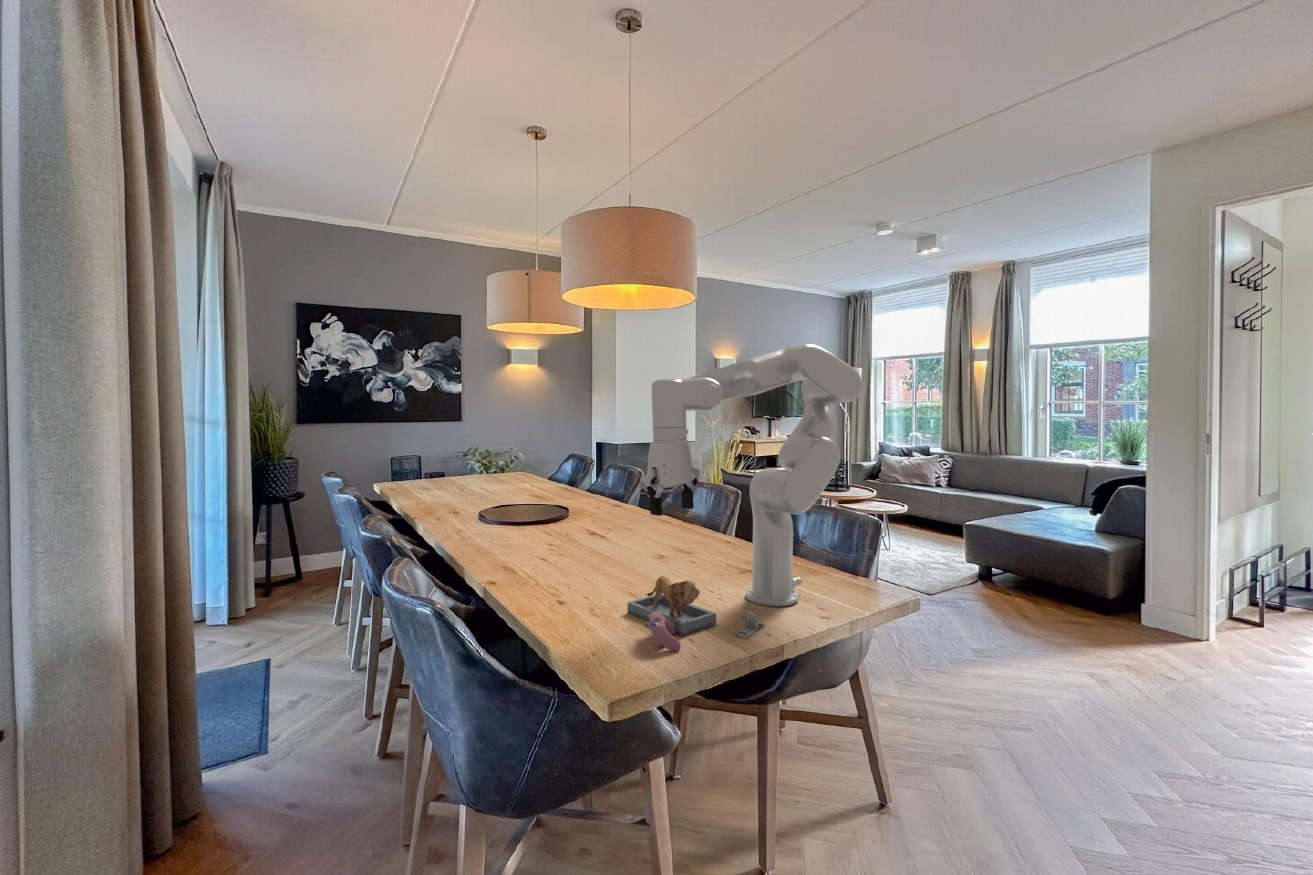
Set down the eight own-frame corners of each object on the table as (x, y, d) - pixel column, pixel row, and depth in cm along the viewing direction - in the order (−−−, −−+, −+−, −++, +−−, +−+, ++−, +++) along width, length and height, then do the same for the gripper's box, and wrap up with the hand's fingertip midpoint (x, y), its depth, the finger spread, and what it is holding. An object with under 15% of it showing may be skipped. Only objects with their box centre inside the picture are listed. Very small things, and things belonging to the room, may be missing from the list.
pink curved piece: (657, 640, 121) (642, 611, 121) (677, 630, 122) (662, 600, 121) (661, 661, 112) (645, 629, 111) (683, 649, 112) (666, 617, 111)
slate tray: (660, 603, 140) (660, 593, 139) (716, 624, 126) (716, 613, 126) (627, 613, 133) (627, 602, 133) (682, 636, 119) (682, 624, 119)
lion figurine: (699, 621, 127) (705, 582, 126) (682, 627, 124) (687, 587, 122) (654, 594, 138) (659, 558, 136) (637, 599, 134) (642, 562, 133)
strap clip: (747, 640, 118) (748, 619, 118) (734, 636, 120) (734, 616, 120) (765, 627, 125) (766, 607, 125) (752, 624, 127) (753, 605, 127)
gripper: (685, 432, 139) (687, 504, 140) (629, 437, 127) (632, 515, 128) (708, 433, 133) (711, 507, 134) (652, 438, 122) (655, 520, 123)
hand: (672, 511), depth 131 cm, fingers open, 9 cm apart
